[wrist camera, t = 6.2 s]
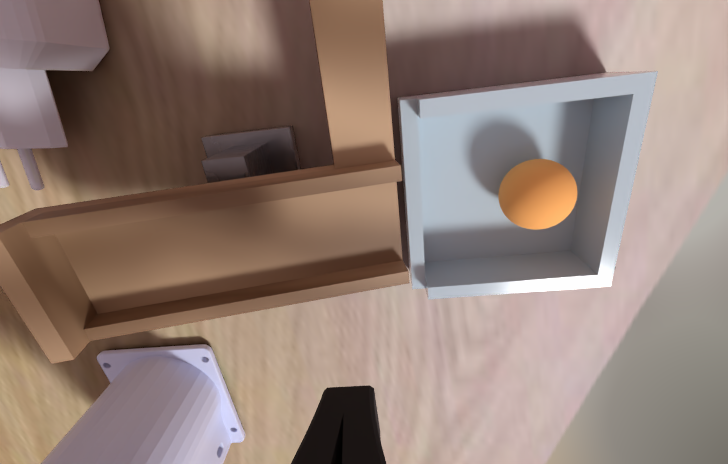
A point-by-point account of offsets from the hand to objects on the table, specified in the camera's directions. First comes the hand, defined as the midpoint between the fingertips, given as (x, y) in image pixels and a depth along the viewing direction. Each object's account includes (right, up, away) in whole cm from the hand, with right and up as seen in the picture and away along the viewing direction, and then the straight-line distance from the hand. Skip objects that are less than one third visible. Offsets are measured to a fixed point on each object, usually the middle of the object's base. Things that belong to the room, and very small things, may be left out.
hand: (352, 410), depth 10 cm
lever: (-6, +9, +3) cm, 11 cm away
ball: (+8, +7, +6) cm, 12 cm away
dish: (+7, +8, +8) cm, 13 cm away
